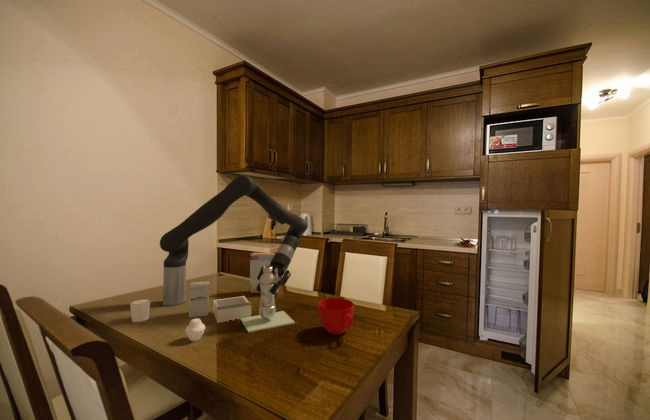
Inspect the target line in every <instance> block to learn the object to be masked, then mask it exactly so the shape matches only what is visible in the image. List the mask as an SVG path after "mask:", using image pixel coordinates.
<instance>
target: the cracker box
mask: <svg viewBox="0 0 650 420" xmlns="http://www.w3.org/2000/svg"><path fill="white" fill-rule="evenodd" d="M275 253H276V252H252V253H250V254H249V255H250V257H249V259H250V260H249V267H250V268H249V293H250V294H261V292H258V291H257V289H256V288H257V286H258V284H259V280H258V279H257V277H258V274H259V272H260V270H261V268H262V267H264V266H270V263H271V260H272V258H273V256H274V254H275ZM278 292H279V289H278V290H277V292H276V293H275V294H274V295H276V294H277V293H278Z"/></svg>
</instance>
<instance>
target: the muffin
mask: <svg viewBox="0 0 650 420" xmlns="http://www.w3.org/2000/svg"><path fill="white" fill-rule="evenodd" d="M205 329H206V325H205V324H204V323H203V322H202V320H201V319H200V318H196V317H195V318H193V319H191V320H190V321H189V324H188V325H187V326H186V328H185V329H184V330H185V333H186V336H187V338H188V340H189V341H191V342H197V341H200V340H201V338H202V336H203V334H204V333H205Z"/></svg>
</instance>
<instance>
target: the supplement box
mask: <svg viewBox="0 0 650 420" xmlns="http://www.w3.org/2000/svg"><path fill="white" fill-rule="evenodd" d="M189 285H190V286H189V296H188V297H189V300H188V301H189V303H188V304H189V306H188V307H189V308H188V318H189V319H190V318H196V317H204V316H208V315H209V294H210V293H209V292H210V291H209V290H210V281H199V282H198V281H197V282H195V281H194V282H190V284H189Z"/></svg>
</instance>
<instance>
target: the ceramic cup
mask: <svg viewBox="0 0 650 420" xmlns="http://www.w3.org/2000/svg"><path fill="white" fill-rule="evenodd" d="M354 310H355V305H354V302H353V301H352V300H350V299H346V298H339V297H329V298H324V299H322V300H320V301H319V302H318V315H319V320H320V323H321V325H322V326H323V327H324V329H325V330H326V332H327V333H329V334H331V335H342V334H344V333H345V331H347V329H349V328H352V326H353V323H354V320H353V319H354V318H353V317H354Z"/></svg>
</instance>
